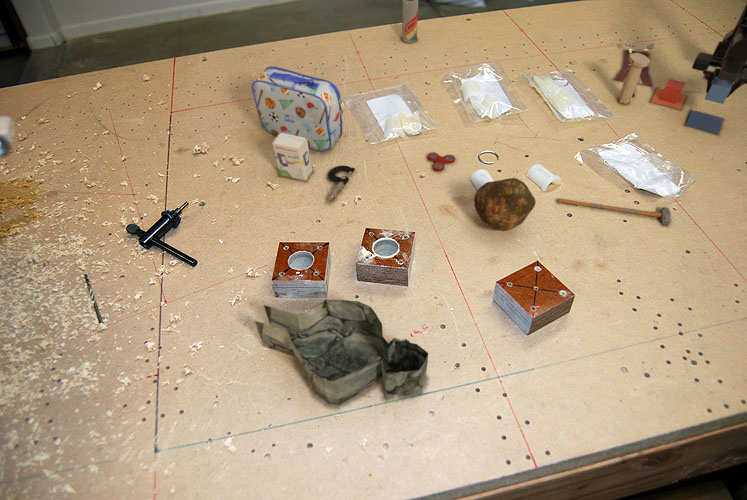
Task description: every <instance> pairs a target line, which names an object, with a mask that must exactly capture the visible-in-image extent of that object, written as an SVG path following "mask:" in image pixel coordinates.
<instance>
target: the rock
mask: <svg viewBox="0 0 747 500" xmlns="http://www.w3.org/2000/svg"><path fill="white" fill-rule="evenodd" d="M473 200H474V201H473V203H474V204H473V207H474V209H475V212H476V214H477V216H478V217H479V219H480V220H481V221H482V222H483V223H485V224H486V225H487V226H488V227H489V228H490V229H492V230H495V231H500V232H501V231H502V232H506V231H510V230H512V229H515V228H516V227H518V226H521V225H522V224H523V223H524V222H525V220H526V219H527V218H528V217H529V215H530V213H531V212H532V211H533V209H534V208H535V206H536V203H537V201H536V197H534V195H533V193H532V192H531V190H530V188H529V187H528V185H527V184H526V183H525V182H524V181H522V180H520V179H519V178H516V177H510V178H504V179H500V180H494V181H487V182H486V183H484V184H483V185H481V186H480V187H479V188H478V189H477V190H476V191H475V193H474V199H473Z"/></svg>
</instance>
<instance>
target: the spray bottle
mask: <svg viewBox="0 0 747 500" xmlns="http://www.w3.org/2000/svg"><path fill="white" fill-rule="evenodd" d="M401 7H402V8H401V10H402V14H401V15H402V16H401V17H402V19H401V20H402V21H401V40H402V41H403V42H404V43H406V44H411V43H416V42H417V41H418V23H419V22H418V17H419V16H418V15H419V0H402V6H401Z"/></svg>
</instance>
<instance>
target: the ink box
mask: <svg viewBox="0 0 747 500" xmlns="http://www.w3.org/2000/svg"><path fill="white" fill-rule="evenodd" d="M271 144H272V149H273V153H274V156H275V161H276V165H277V168H278V174H279V176H282V177H287V178H292V179H297V180H300V181H307V180H308V179H309V177H310V176H311V174H312V172H313V165H312V160H311V154H310V148H308V142H307V139H305V138H304V137H299V136H294V135H289V134H285V133H280V134H279V135H278V136H275V138H274V140H272V142H271Z"/></svg>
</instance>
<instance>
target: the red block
mask: <svg viewBox="0 0 747 500" xmlns="http://www.w3.org/2000/svg"><path fill="white" fill-rule="evenodd" d="M685 85H686V82H685V81H680V80H676V79H673V78H667V81H666V84H665V86H664V88H663V89H664V90H663V92H662V95H661V97H660V99H659V100H663V101H667V102H670V103H674V104H676V102H677V100H678V98H679V96H680V94H682V92H683V89H684V87H685Z"/></svg>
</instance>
